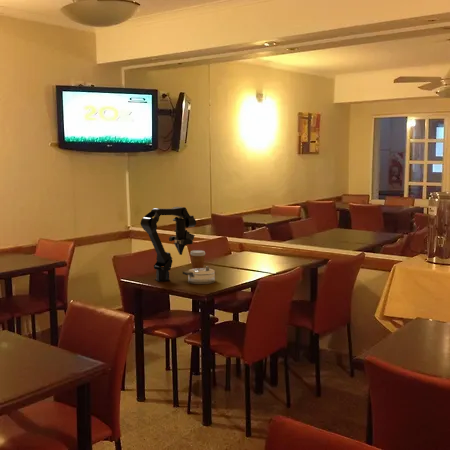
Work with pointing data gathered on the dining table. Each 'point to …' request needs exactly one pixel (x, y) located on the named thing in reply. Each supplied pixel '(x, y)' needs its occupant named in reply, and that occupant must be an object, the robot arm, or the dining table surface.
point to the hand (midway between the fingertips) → (180, 254)
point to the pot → (201, 279)
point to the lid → (199, 271)
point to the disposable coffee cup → (197, 258)
